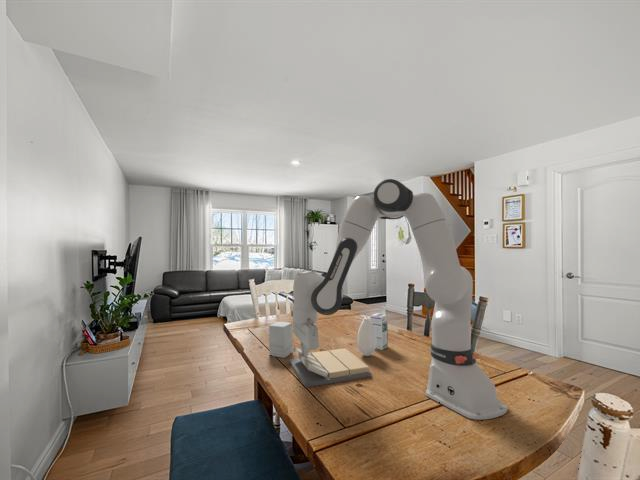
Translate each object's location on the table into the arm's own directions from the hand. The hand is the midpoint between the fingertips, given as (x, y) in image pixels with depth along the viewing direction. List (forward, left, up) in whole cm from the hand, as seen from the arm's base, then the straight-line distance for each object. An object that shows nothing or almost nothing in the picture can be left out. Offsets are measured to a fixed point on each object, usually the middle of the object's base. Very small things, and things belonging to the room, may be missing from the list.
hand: (305, 354), depth 108 cm
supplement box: (+21, +4, -7) cm, 22 cm away
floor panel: (0, -9, -6) cm, 11 cm away
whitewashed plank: (0, -1, -3) cm, 3 cm away
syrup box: (+14, -39, -7) cm, 42 cm away
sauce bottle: (+7, -29, -7) cm, 30 cm away
